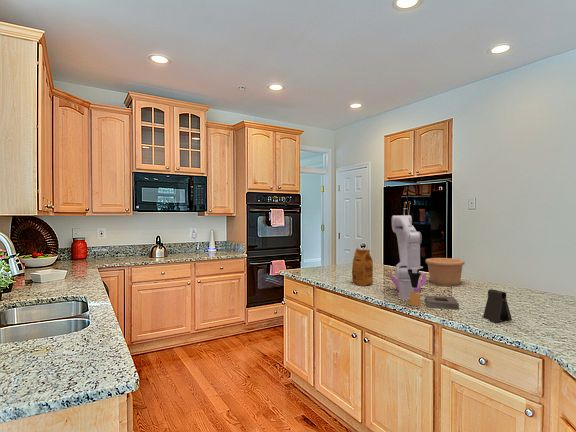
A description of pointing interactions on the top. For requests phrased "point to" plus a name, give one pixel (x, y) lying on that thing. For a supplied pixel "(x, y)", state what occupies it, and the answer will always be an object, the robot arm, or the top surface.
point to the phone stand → (497, 307)
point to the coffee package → (362, 268)
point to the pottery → (445, 271)
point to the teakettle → (420, 283)
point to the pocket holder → (441, 302)
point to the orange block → (414, 298)
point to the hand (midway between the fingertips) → (414, 285)
